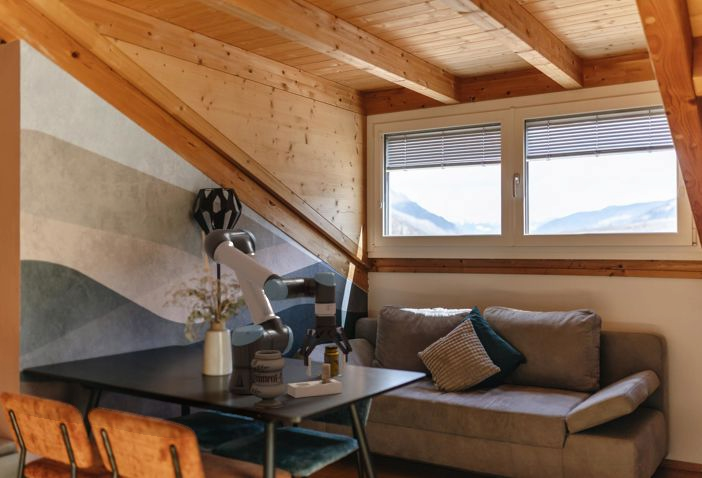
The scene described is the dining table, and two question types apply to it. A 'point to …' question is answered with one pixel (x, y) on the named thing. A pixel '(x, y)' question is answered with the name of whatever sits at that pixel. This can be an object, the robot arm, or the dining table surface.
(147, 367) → the dining table surface
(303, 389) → the hole block
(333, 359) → the condiment
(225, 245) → the robot arm
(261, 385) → the apothecary jar
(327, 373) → the dowel
